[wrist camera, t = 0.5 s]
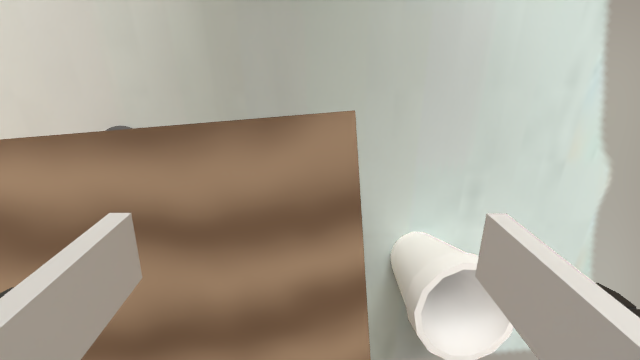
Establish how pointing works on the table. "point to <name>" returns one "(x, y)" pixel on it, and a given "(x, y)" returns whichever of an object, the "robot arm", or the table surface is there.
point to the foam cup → (447, 298)
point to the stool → (206, 233)
